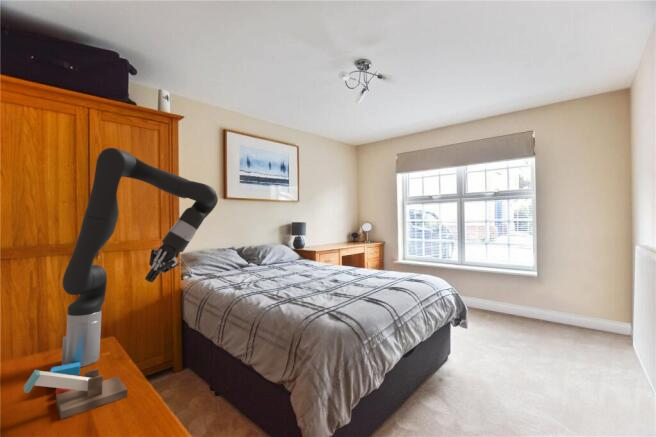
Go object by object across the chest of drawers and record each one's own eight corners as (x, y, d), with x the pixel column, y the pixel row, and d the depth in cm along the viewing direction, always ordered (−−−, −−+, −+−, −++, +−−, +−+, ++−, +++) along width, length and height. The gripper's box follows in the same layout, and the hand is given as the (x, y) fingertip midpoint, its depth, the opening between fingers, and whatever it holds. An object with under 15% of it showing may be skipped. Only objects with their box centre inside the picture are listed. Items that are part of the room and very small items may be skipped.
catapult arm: (96, 377, 84) (35, 369, 75) (99, 382, 82) (36, 374, 73) (87, 393, 83) (23, 386, 74) (90, 398, 80) (24, 392, 71)
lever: (50, 391, 93) (45, 402, 80) (52, 367, 95) (47, 374, 82) (79, 384, 98) (78, 393, 84) (80, 361, 99) (80, 367, 86)
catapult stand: (117, 383, 91) (118, 359, 91) (127, 396, 84) (128, 371, 84) (55, 402, 80) (57, 376, 80) (61, 419, 74) (62, 391, 74)
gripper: (160, 225, 103) (127, 270, 98) (184, 236, 97) (150, 284, 92) (176, 235, 110) (146, 277, 104) (199, 245, 103) (168, 291, 98)
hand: (148, 280), depth 98 cm, fingers closed
